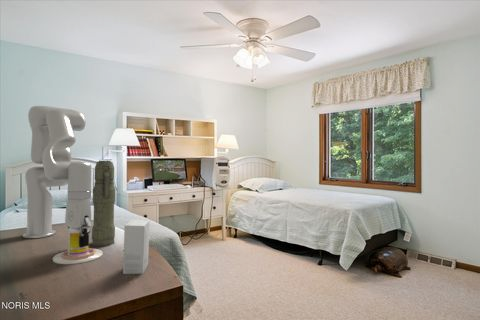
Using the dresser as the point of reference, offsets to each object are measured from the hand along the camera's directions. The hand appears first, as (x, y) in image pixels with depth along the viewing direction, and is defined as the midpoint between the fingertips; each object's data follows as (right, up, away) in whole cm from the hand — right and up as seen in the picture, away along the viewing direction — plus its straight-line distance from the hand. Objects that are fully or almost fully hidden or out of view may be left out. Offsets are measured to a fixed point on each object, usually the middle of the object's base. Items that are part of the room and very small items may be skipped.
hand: (78, 244), depth 109 cm
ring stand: (0, -5, 0) cm, 5 cm away
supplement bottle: (0, -4, 0) cm, 4 cm away
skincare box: (+25, -5, -12) cm, 28 cm away
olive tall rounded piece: (+1, -5, +17) cm, 18 cm away
